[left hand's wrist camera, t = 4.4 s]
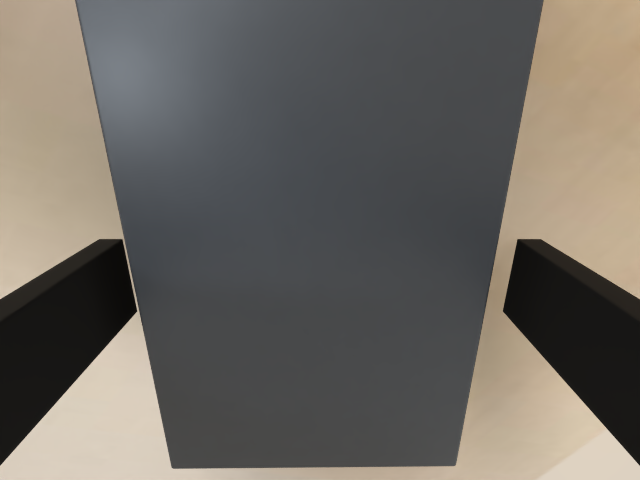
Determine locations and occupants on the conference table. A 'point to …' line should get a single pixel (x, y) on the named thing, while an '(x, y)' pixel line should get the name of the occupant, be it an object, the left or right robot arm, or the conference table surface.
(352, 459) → the long grey beam
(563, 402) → the conference table surface
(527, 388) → the conference table surface
